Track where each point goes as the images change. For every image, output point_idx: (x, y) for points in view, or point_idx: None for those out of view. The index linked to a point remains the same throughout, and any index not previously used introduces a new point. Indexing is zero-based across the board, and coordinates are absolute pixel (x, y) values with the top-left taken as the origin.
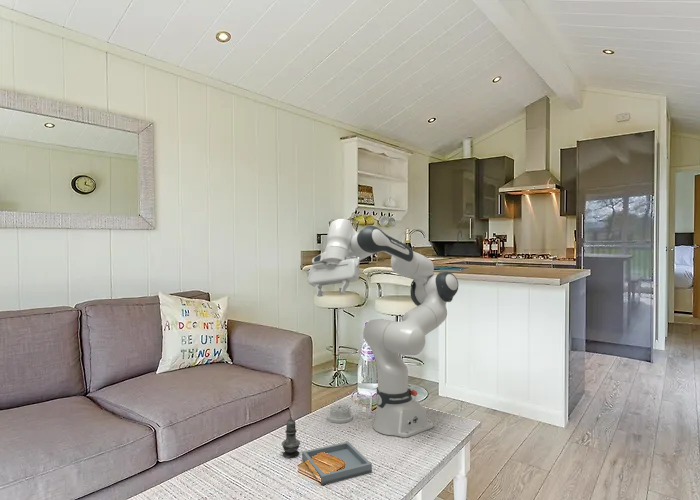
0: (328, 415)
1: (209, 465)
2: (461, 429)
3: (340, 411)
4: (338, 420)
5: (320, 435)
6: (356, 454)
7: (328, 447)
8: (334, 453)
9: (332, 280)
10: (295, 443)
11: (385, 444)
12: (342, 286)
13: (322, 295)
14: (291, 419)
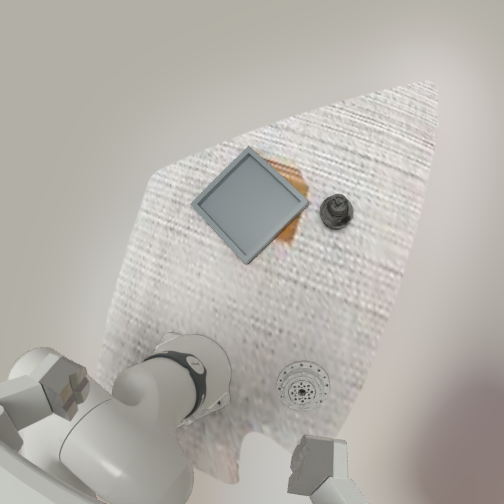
0: (325, 379)
1: (429, 146)
2: (104, 379)
3: (294, 374)
4: (298, 362)
5: (314, 300)
6: (221, 229)
7: (271, 230)
8: (261, 233)
9: (95, 499)
10: (325, 207)
11: (193, 300)
12: (24, 383)
13: (293, 458)
14: (337, 200)
